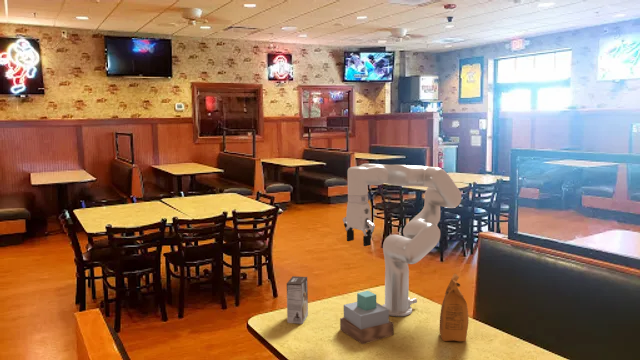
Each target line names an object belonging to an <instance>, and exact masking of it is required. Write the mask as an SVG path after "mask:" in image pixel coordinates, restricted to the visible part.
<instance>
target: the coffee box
mask: <svg viewBox="0 0 640 360" xmlns="http://www.w3.org/2000/svg"><path fill="white" fill-rule="evenodd" d="M308 290H309V289H308V276H296V275H295V276H294V275H293V276H292V277H290V279H289V280H288V281H287V282H286V313H287V314H286V316H287V317H286V318H287V320H286V321H287V323H288V324H301V325H303V324H304V322H305V320H306V319H307V318H308V316H309V306H308V305H309V300H308V297H309V296H308V294H309V293H308Z"/></svg>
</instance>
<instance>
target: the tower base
mask: <svg viewBox="0 0 640 360" xmlns="http://www.w3.org/2000/svg"><path fill="white" fill-rule="evenodd" d="M394 326H395V325H394V322H393V321H392V320H389V323H386V324H382V325H378V326H373V327H369V328H365V329H359V328H358V327H356V326H355V325H354V324H352V323H351V322H349V321H348V320H346V319H345V318H344V316H342V317H340V319H339V327H340V331H341V332H343V333H344V334H346V335H347V336H349V337H350V338H352V339H353V340H355V341H356V342H358V343H359V344H361V345H365V344H368V343H372V342H376V341H378V340H381V339H385V338H387V337H390V336H393V335H394V328H395V327H394Z"/></svg>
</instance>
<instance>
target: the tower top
mask: <svg viewBox="0 0 640 360" xmlns="http://www.w3.org/2000/svg"><path fill="white" fill-rule="evenodd" d="M382 305H383V304H380V303H378V302H377V301H376V308H374V309H370V310H366V311H365V310H363V309H361V308H359V307H358V306H357V301H356V302H352V303H346V304H343V317H344V318H345V319H346V320H348V321H349V322H351V323H352V324H354V325H355V326H356V327H358V328H359V329H365V328H369V327H373V326H378V325H382V324H386V323H389V321H390V318H389V317H390V315H389V309H387V308H385V307H383V306H382Z"/></svg>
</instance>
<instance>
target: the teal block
mask: <svg viewBox="0 0 640 360" xmlns="http://www.w3.org/2000/svg"><path fill="white" fill-rule="evenodd" d="M356 302H357V306H358V307H359V308H361V309H363V310H365V311H366V310H370V309H374V308H376V302H377V294H376V293H373V292H372V291H370V290H364V291H361V292H357V293H356Z"/></svg>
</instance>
